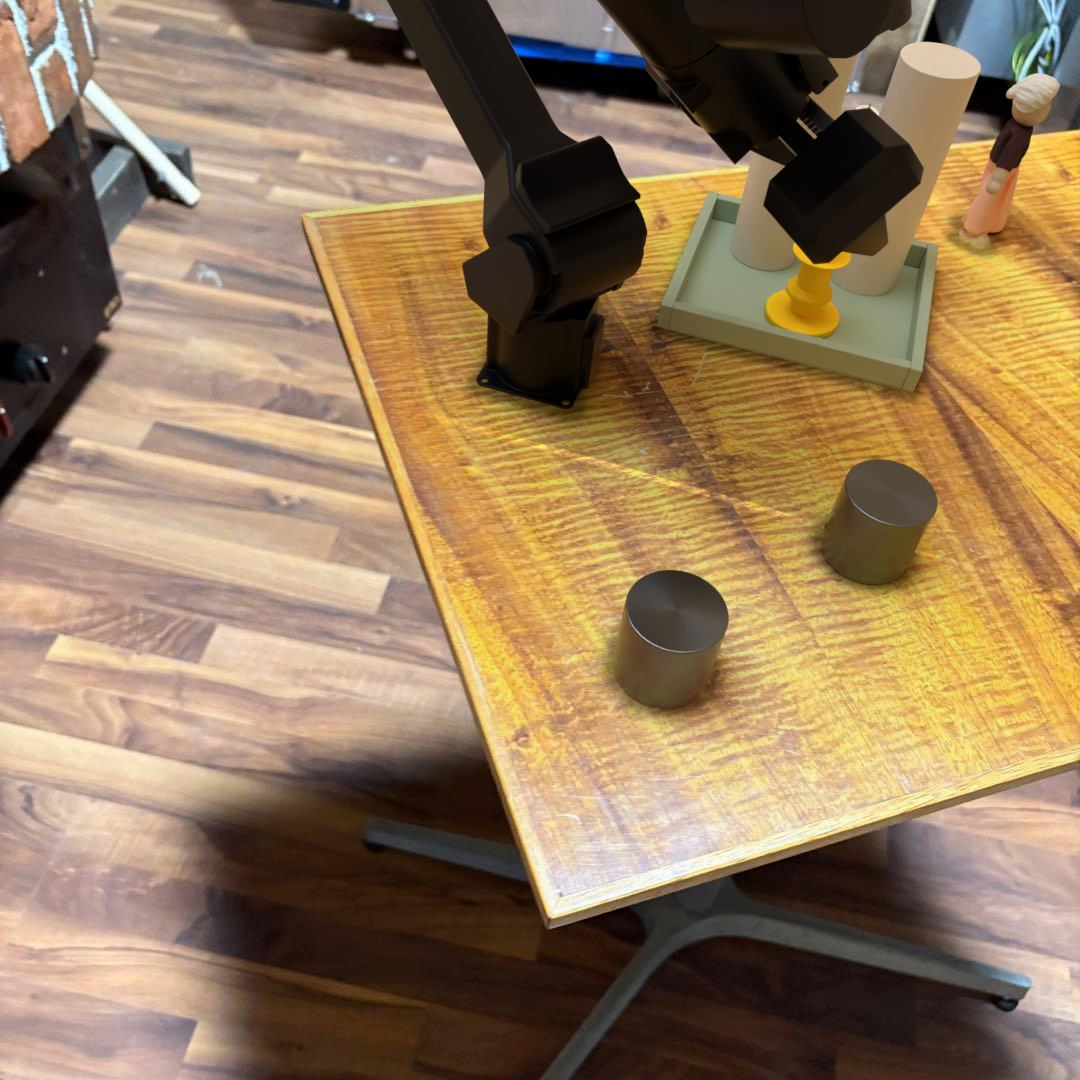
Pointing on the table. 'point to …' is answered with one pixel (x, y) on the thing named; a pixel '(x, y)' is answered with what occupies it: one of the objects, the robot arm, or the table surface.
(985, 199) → the grandmother figurine
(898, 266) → the cream candles
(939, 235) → the table surface
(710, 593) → the grey tins
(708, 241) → the tray
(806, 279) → the candle
